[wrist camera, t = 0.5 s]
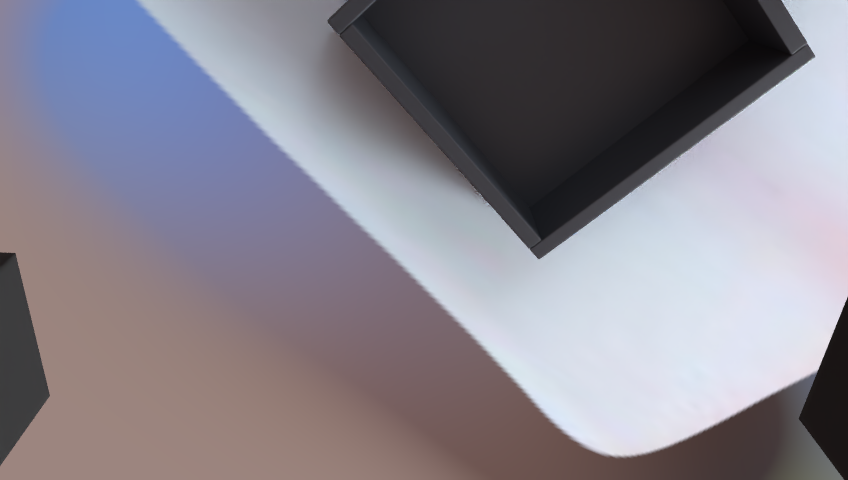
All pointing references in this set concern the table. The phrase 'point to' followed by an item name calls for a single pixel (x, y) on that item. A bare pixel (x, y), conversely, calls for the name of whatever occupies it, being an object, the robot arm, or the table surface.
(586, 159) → the box
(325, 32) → the table surface
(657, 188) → the table surface
